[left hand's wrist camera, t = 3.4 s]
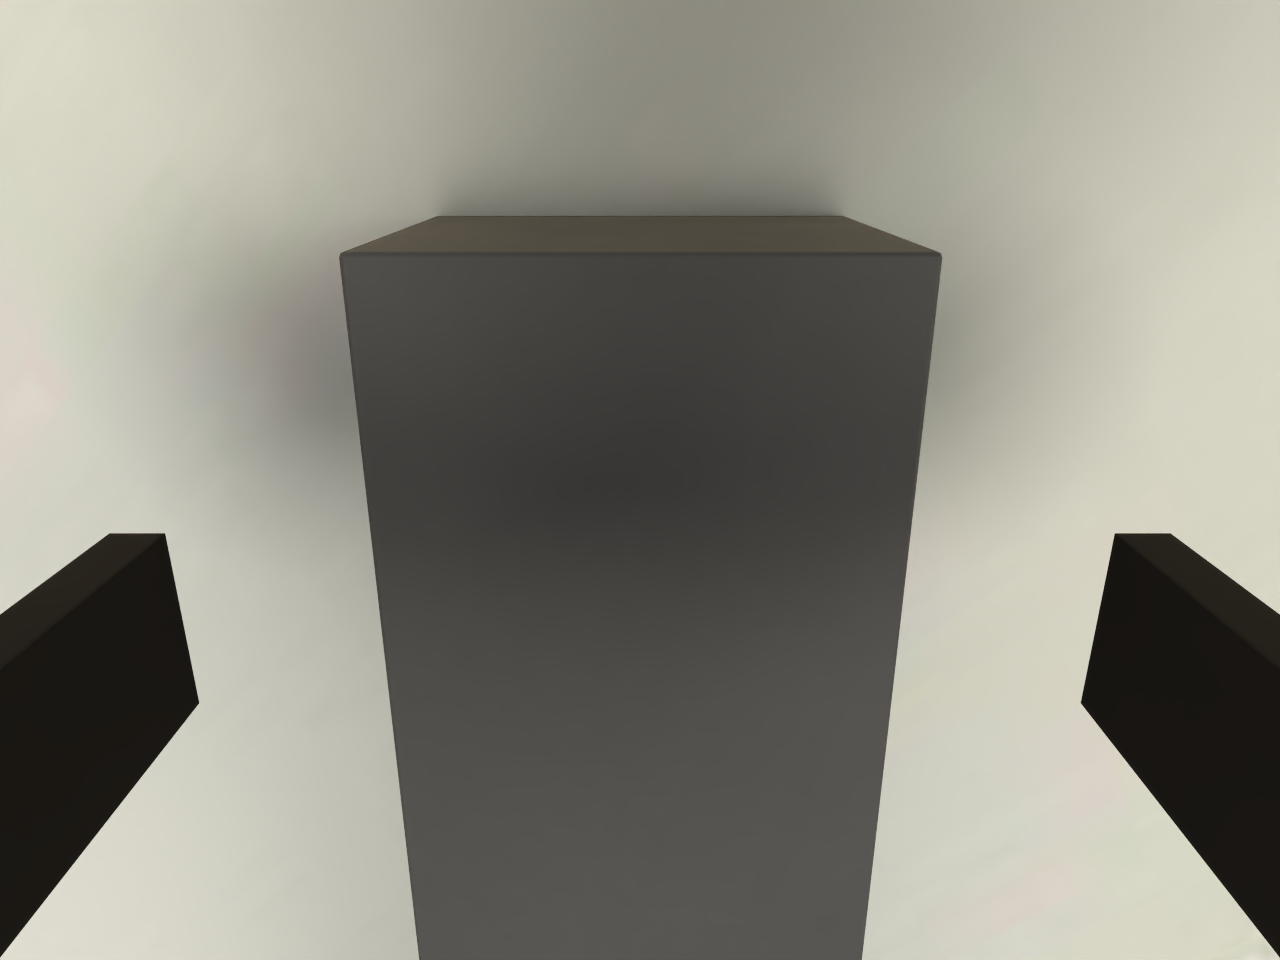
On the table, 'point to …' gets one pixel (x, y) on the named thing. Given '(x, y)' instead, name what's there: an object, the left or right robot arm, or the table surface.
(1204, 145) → the table surface
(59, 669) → the left robot arm
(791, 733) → the thick board
